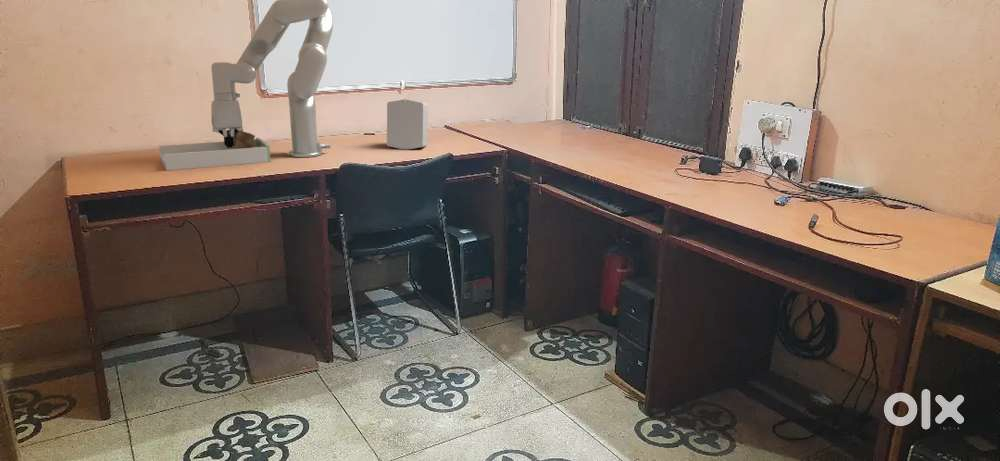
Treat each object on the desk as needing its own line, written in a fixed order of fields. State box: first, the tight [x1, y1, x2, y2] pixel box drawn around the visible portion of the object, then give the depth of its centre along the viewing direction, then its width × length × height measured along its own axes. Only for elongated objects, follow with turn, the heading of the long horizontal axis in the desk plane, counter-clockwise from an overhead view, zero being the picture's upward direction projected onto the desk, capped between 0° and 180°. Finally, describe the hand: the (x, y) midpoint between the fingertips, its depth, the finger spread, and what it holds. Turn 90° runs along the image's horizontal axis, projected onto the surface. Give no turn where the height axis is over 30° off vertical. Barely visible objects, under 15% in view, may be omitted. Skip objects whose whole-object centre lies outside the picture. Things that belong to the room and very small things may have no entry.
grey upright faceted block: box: [386, 98, 429, 150], centre depth 296 cm, size 15×15×20 cm
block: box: [232, 130, 256, 149], centre depth 270 cm, size 6×6×6 cm
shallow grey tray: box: [158, 137, 271, 171], centre depth 262 cm, size 35×18×6 cm, turn 120°
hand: (229, 146), depth 267 cm, fingers closed
